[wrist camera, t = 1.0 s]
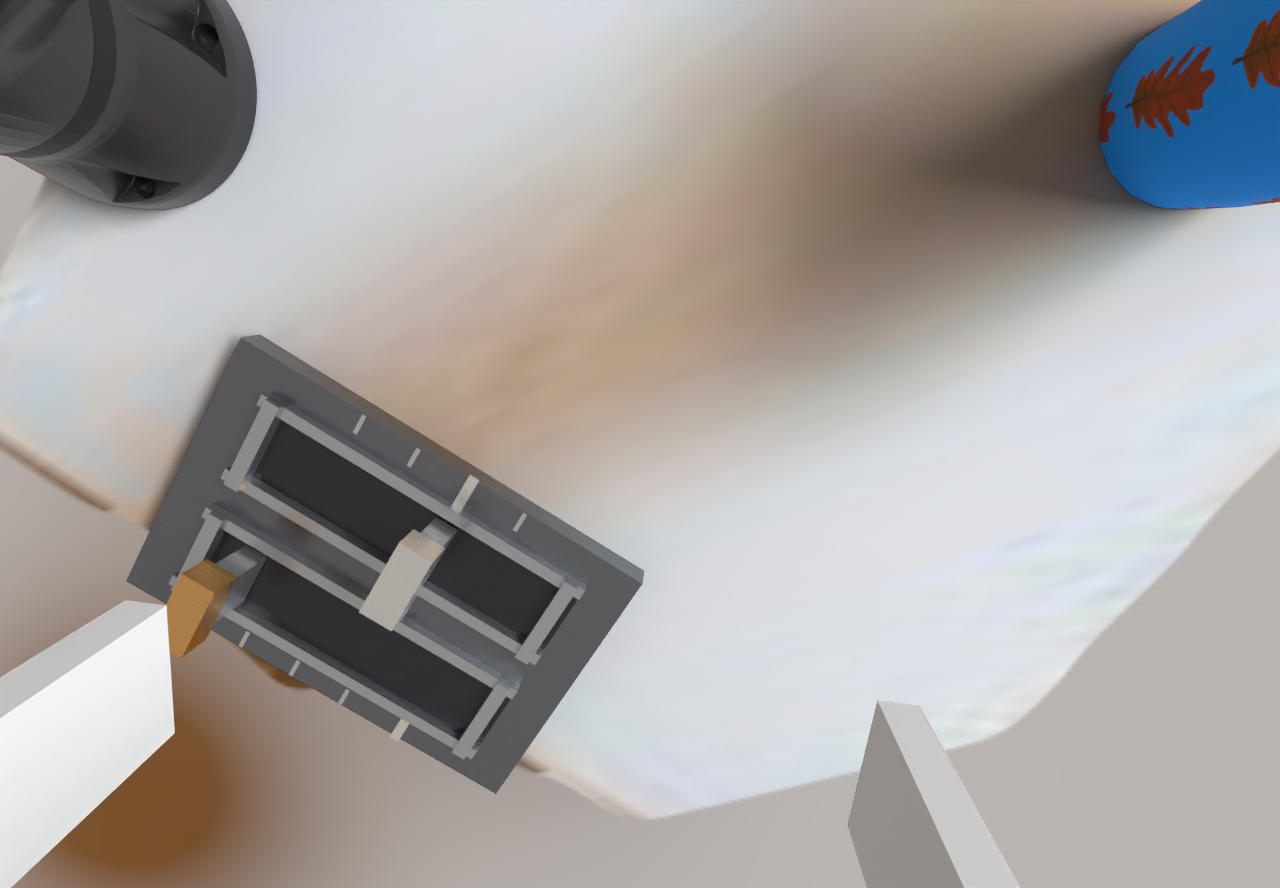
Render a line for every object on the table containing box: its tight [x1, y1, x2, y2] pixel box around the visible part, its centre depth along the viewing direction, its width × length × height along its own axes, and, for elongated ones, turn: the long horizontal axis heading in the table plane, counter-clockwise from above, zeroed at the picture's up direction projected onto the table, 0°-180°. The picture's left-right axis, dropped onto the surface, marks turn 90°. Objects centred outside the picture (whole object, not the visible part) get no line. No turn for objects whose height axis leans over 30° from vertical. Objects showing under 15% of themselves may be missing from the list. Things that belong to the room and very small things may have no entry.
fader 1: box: [166, 545, 267, 658], centre depth 44 cm, size 2×5×6 cm, turn 147°
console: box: [127, 335, 644, 794], centre depth 47 cm, size 30×20×3 cm
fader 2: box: [359, 517, 457, 631], centre depth 43 cm, size 2×5×6 cm, turn 148°
